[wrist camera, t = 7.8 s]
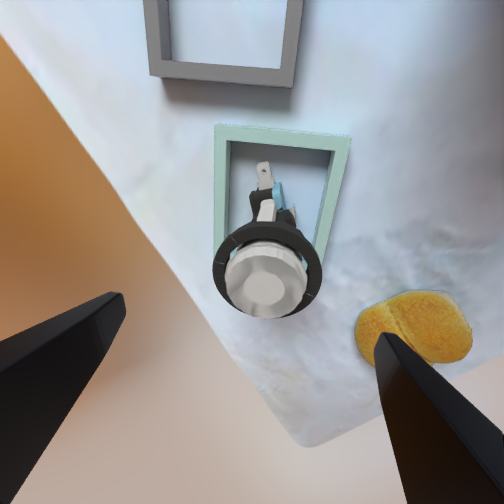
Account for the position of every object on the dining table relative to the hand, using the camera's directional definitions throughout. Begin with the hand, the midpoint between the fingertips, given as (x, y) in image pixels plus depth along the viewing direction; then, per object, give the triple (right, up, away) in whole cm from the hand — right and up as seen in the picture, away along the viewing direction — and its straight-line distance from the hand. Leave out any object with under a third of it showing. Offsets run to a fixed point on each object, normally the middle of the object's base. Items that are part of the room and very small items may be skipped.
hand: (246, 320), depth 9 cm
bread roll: (+14, -4, +15) cm, 21 cm away
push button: (+2, +6, +11) cm, 13 cm away
